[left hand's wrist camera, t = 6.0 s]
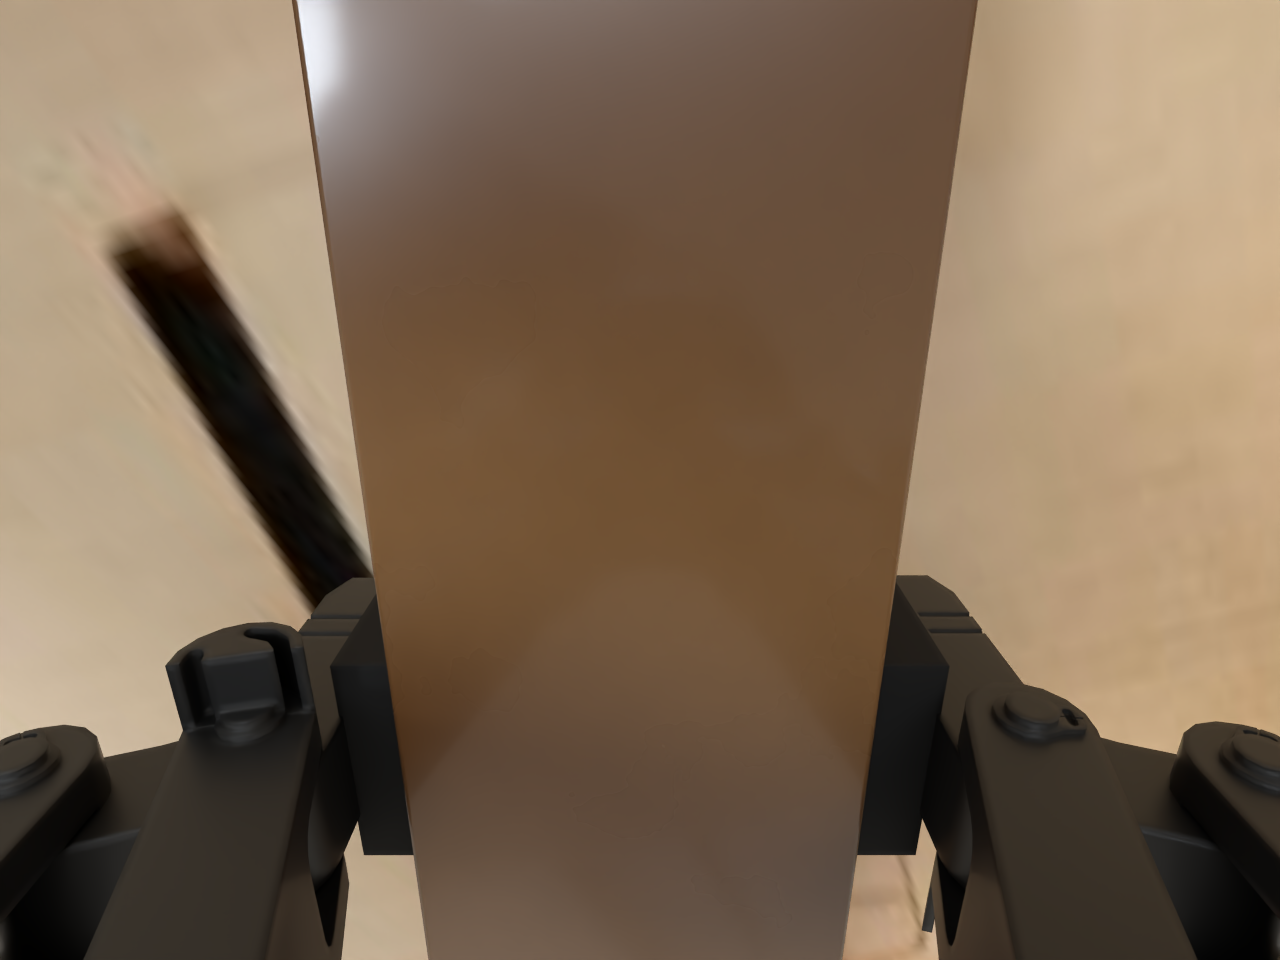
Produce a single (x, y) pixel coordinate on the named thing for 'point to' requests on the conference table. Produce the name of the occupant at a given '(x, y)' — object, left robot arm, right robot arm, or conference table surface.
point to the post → (635, 440)
